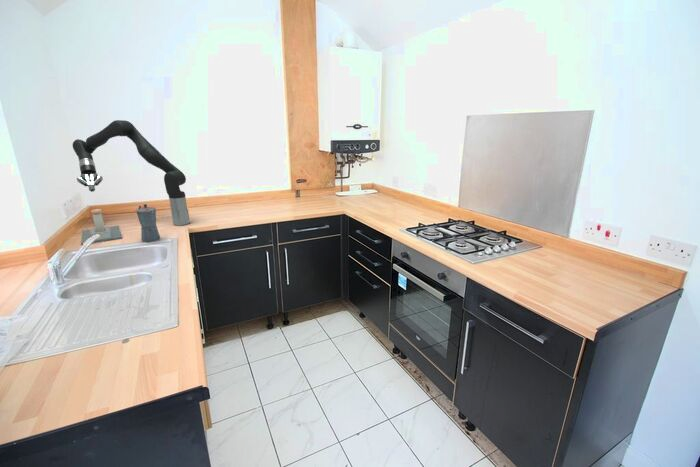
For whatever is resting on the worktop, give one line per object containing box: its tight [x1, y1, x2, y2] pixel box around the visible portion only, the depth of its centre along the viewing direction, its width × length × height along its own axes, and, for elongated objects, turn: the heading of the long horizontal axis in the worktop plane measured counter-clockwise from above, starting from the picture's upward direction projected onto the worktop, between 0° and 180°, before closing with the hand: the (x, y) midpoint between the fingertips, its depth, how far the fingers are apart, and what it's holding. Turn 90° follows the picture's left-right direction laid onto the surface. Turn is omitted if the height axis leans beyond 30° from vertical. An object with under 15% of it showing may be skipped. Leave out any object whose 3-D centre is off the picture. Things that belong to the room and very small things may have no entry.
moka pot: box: [135, 203, 161, 243], centre depth 183 cm, size 10×15×20 cm, turn 58°
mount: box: [89, 225, 112, 241], centre depth 186 cm, size 12×9×4 cm
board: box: [80, 224, 123, 246], centre depth 193 cm, size 28×18×1 cm, turn 36°
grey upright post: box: [90, 208, 106, 232], centre depth 192 cm, size 5×5×13 cm
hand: (92, 190), depth 199 cm, fingers closed
